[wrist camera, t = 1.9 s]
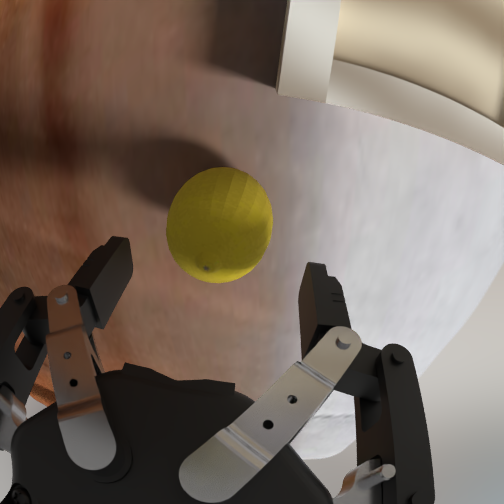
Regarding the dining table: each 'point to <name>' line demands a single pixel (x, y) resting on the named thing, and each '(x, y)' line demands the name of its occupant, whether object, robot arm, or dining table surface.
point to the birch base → (402, 63)
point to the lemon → (219, 225)
